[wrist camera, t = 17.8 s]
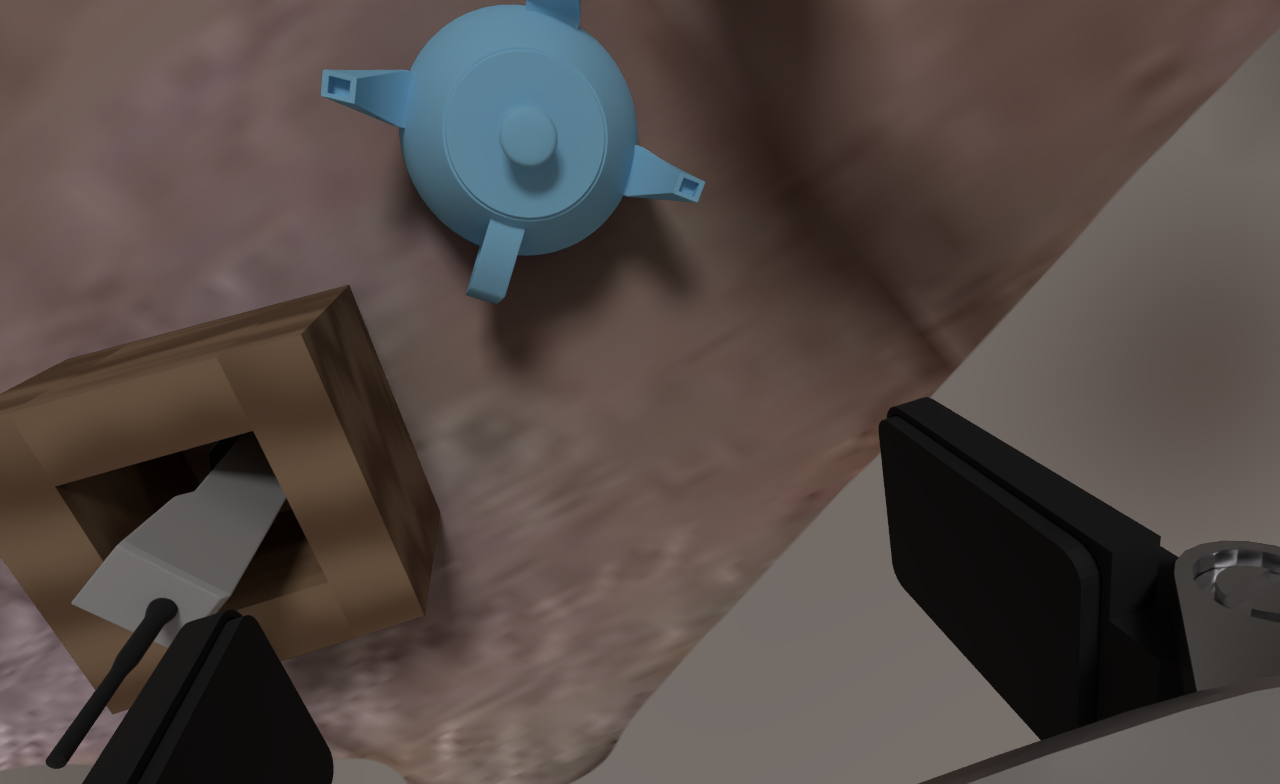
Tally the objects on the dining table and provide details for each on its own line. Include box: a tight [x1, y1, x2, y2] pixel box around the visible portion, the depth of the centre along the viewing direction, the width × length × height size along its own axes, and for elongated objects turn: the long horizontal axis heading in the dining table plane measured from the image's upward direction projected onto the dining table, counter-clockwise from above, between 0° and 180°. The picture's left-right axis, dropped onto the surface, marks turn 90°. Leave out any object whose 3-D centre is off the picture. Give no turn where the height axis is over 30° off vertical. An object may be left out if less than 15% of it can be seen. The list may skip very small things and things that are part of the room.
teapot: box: [321, 0, 705, 304], centre depth 38 cm, size 15×15×11 cm
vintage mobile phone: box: [46, 431, 286, 769], centre depth 34 cm, size 4×5×25 cm
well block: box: [0, 285, 440, 714], centre depth 41 cm, size 18×18×12 cm
